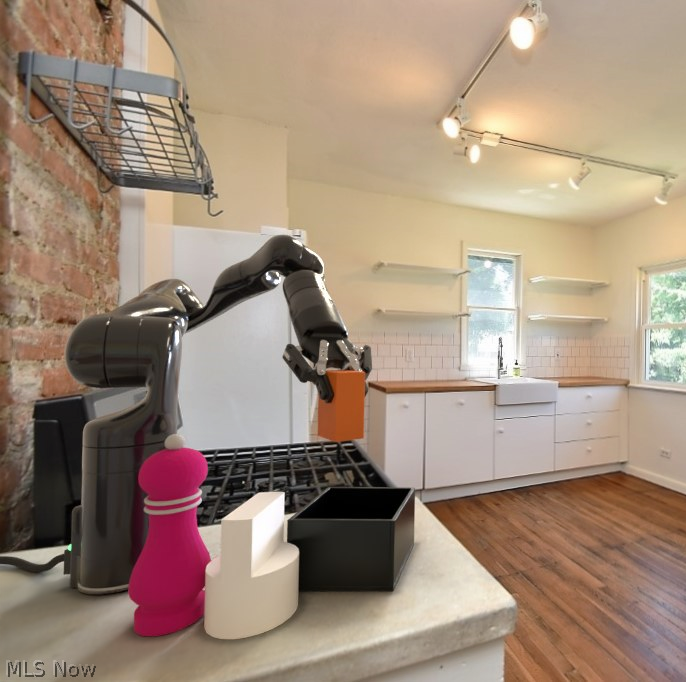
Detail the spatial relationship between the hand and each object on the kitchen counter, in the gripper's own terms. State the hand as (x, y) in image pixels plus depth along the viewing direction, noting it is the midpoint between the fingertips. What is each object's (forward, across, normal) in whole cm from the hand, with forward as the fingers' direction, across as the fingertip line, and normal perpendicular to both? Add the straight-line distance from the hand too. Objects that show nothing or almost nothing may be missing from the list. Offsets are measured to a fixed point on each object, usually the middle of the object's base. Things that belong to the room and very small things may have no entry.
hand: (346, 398), depth 67 cm
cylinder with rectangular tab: (+22, +14, -9) cm, 28 cm away
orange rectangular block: (+3, 0, -6) cm, 6 cm away
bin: (+20, +1, -11) cm, 23 cm away
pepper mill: (+19, +21, -13) cm, 31 cm away
